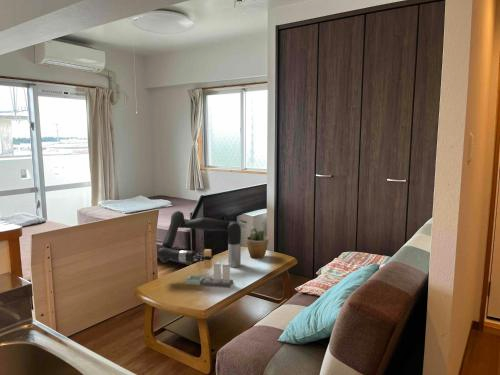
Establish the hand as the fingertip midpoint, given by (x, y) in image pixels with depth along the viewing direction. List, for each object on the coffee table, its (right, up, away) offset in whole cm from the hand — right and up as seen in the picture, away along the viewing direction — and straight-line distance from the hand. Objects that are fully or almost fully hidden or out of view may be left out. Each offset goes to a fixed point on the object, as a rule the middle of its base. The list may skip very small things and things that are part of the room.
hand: (211, 257), depth 245 cm
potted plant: (+31, -11, +59) cm, 68 cm away
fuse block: (+4, -18, +2) cm, 18 cm away
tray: (-12, -17, +5) cm, 21 cm away
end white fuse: (+9, -16, 0) cm, 18 cm away
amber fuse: (-3, -7, +1) cm, 8 cm away
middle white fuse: (+4, -16, +2) cm, 16 cm away
